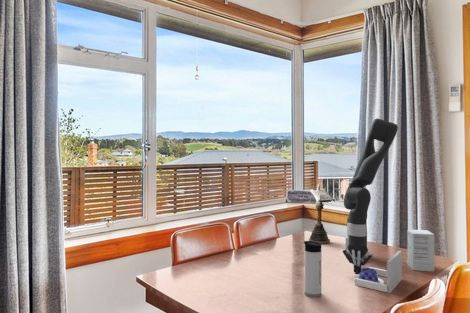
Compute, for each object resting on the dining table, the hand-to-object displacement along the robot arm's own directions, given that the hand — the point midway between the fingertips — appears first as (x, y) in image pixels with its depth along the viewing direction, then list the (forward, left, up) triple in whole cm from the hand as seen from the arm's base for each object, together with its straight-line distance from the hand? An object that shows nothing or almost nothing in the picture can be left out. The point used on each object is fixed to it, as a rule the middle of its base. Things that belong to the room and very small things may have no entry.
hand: (357, 273), depth 152 cm
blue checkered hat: (+5, -2, -2) cm, 6 cm away
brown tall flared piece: (-36, +45, -2) cm, 57 cm away
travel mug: (-8, -28, -2) cm, 29 cm away
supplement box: (+19, +30, -2) cm, 36 cm away
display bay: (+9, 0, -2) cm, 9 cm away
